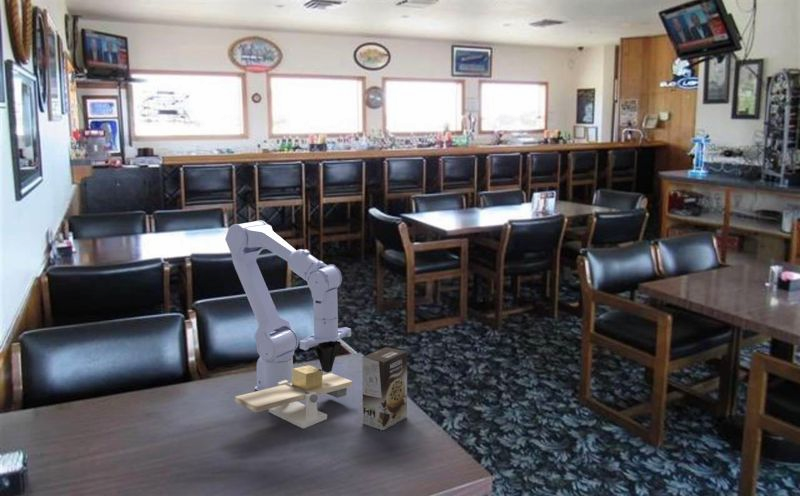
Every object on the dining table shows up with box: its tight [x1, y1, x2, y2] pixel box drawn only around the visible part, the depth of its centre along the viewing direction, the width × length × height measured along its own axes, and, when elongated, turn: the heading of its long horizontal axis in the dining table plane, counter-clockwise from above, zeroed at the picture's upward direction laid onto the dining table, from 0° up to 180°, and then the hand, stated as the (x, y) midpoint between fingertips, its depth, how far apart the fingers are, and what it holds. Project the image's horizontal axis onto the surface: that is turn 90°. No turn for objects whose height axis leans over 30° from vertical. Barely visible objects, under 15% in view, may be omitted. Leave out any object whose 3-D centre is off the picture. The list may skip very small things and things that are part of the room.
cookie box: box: [362, 346, 408, 431], centre depth 149 cm, size 9×6×16 cm
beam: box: [234, 372, 354, 413], centre depth 152 cm, size 8×28×4 cm, turn 137°
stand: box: [268, 380, 328, 429], centre depth 152 cm, size 13×7×7 cm, turn 47°
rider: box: [292, 364, 324, 391], centre depth 154 cm, size 5×5×4 cm
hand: (326, 370), depth 158 cm, fingers closed
